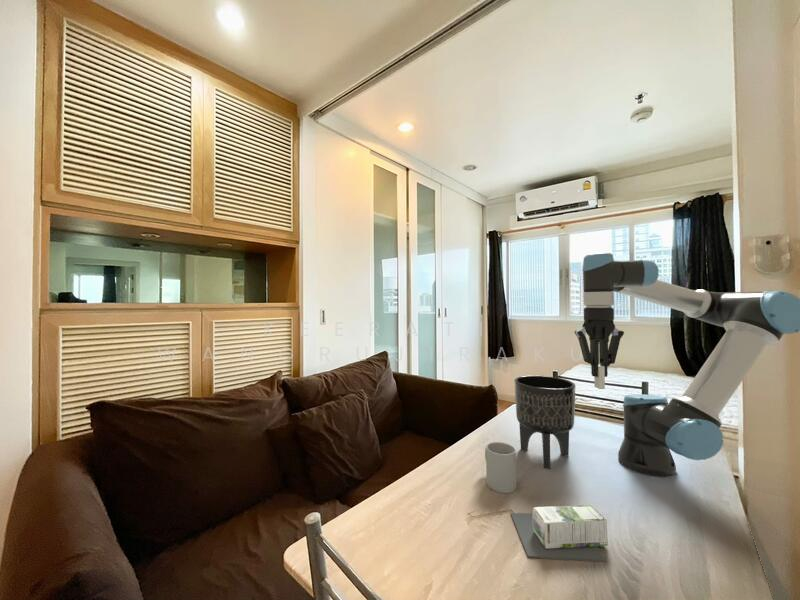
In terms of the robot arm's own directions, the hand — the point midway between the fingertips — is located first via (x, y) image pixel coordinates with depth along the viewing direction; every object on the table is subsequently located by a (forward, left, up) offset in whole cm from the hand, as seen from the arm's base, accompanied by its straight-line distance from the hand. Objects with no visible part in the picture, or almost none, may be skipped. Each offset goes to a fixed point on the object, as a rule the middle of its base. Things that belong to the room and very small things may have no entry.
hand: (599, 387), depth 93 cm
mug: (+29, -2, -30) cm, 41 cm away
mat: (+21, +20, -29) cm, 41 cm away
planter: (+9, -19, -30) cm, 36 cm away
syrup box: (+11, +20, -26) cm, 35 cm away
